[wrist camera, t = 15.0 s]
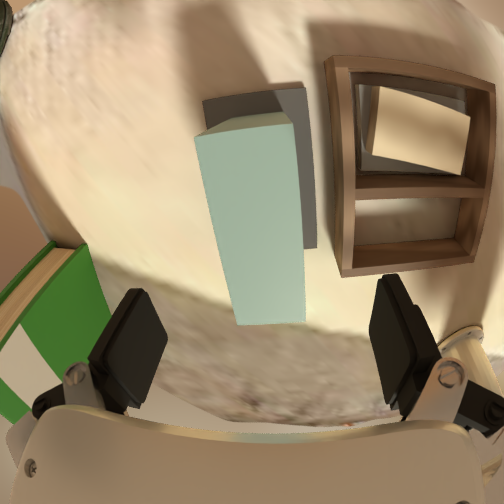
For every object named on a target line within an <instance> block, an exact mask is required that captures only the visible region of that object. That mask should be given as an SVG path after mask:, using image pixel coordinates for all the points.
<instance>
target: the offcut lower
mask: <svg viewBox="0 0 504 504" xmlns="http://www.w3.org/2000/svg"><path fill="white" fill-rule="evenodd" d="M372 86H374V85H362V84H357V85H355V98H356V116H357V167H358V168H359V169H360V170H361V171H409V172H430V173H445V174H454V173H450V172H447V171H443V170H439V169H436V168H432V167H428V166H423V165H419V164H415V163H410V162H406V161H401V160H396V159H391V158H386V157H381V156H375V155H372V154H370V153H369V152H367V151H366V150H365V147H366V140H367V132H368V123H369V114H370V103H371V91H372ZM381 87H384V86H381ZM385 88H389V89H393V90H397V91H400V92H404V93H407V94H410V95H413V96H417V97H420V98H423V99H426V100H429V101H431V102H434V103H437V104H440V105H442V106H445V107H448V108H450V109H453V110H455V111H457V112H460V113H462V114H464V115H465V101H462V100H458V99H454V98H450V97H445V96H441V95H436V94H431V93H426V92H420V91H414V90H408V89H401V88H393V87H385ZM460 175H461V174H460Z"/></svg>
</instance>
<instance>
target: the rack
mask: <svg viewBox="0 0 504 504" xmlns="http://www.w3.org/2000/svg"><path fill="white" fill-rule="evenodd" d="M324 65H325V73H326V80H327V89H328V97H329V107H330V118H331V130H332V144H333V161H334V188H335V253H334V256H335V259H336V262H337V265H338V268H339V272H340V275H341V278H345V277H355V276H366V275H375V274H385V273H394V272H403V271H411V270H420V269H428V268H436V267H443V266H451V265H458V264H465V263H472V262H474V259H475V256H476V253H477V249H478V246H479V242H480V238H481V234H482V230H483V226H484V222H485V218H486V213H487V208H488V203H489V197H490V191H491V185H492V177H493V169H494V159H495V147H496V91H495V84H492V83H490V82H487V81H484V80H481V79H478V78H475V77H472V76H469V75H465V74H462V73H458V72H454V71H451V70H447V69H442V68H438V67H434V66H429V65H424V64H419V63H413V62H407V61H400V60H393V59H385V58H375V57H363V56H343V55H333V56H332V57H330V58H329V59H327V60H326V61H324ZM349 72H360V73H376V74H387V75H396V76H404V77H411V78H418V79H424V80H430V81H435V82H440V83H445V84H449V85H454V86H458V87H462V88H466V89H467V113H468V116H469V117H470V125H469V132H468V138H467V154H466V166H465V176H461V175H437V174H365V175H355V144H354V125H353V111H352V99H351V89H350V80H349ZM397 198H462V199H461V205H460V211H459V217H458V222H457V227H456V231H455V236H454V238H447V239H435V240H423V241H411V242H399V243H387V244H375V245H362V246H353V245H354V226H355V200H371V199H397Z"/></svg>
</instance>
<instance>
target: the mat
mask: <svg viewBox="0 0 504 504" xmlns="http://www.w3.org/2000/svg"><path fill="white" fill-rule="evenodd" d="M202 102H203V108H204V113H205V119H206V125H207V130H208V129H210V128H212V127H214V126H216V125H218V124H220V123H222V122H224V121H226V120H228V119H230V118H234V117H241V116H248V115H256V114H264V113H273V112H284V113H285V114H286V115H287V117H288V118H289V119H290V120H291V122H292V123H293V128H294V136H295V146H296V155H297V166H298V177H299V189H300V201H301V216H302V231H303V249H312V248H317V222H316V198H315V180H314V165H313V152H312V140H311V129H310V119H309V110H308V101H307V93H306V88H294V89H281V90H271V91H261V92H253V93H246V94H239V95H233V96H227V97H221V98H215V99H210V100H205V101H202Z"/></svg>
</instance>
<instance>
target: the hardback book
mask: <svg viewBox="0 0 504 504" xmlns="http://www.w3.org/2000/svg"><path fill="white" fill-rule="evenodd" d="M111 317H112V316H111V313H110V311H109V308H108V305H107V303H106V300H105V297H104V295H103V292H102V289H101V286H100V283H99V280H98V278H97V275H96V271H95V268H94V265H93V262H92V259H91V255H90V252H89V249H88V245H87V244H83V243H82V244H81V245H80V246H79V247H78V248H77V249H76V250H72V249H63V248H57V245H56V242H55V241H50V242H49V243H48V244H47V245H46V246H45V247H44V248H43V249H42V250H41V251H40V252H39V253H38V254H37V255H36V256H35V257H34V258H33V259H32V260H31V261H30V262H29V263H28V264H27V265H26V266H25V267H24V268H23V269H22V270H21V271H20V272H19V273H18V274H17V275H16V276H15V277H14V278H13V280H11V282H10V283H9V284H8V285H7V286H6V287H5V288H4V289H3V291H2V292H1V293H0V414H1V415H3V416H4V417H5V418H6V419H7V420H9V421H10V422H11V423H12V424H15V423H16V422H17V421H19V420H20V419H21V418H22V417H23V416H24V415H25V414H26V413H27V412H28V411H29V410H30V411H31V412H32V405H33V402H34V400H35V399H36V398H37V397H38V396H39V395H40V394H42V393H44V392H46V391H48V390H50V389H52V388H54V387H56V386H57V385H59V384H61V383H63V374H64V372H65V370H66V369H67V368H68V367H69V366H70V365H71V364H73V363H75V362H78V361H82V362H85V363H86V364H89V360H88V359H87V358H88V356H89V354H90V352H91V351H92V349H93V347H94V345H95V344H96V342H97V340H98V338H99V337H100V335H101V333H102V332H103V330H104V328H105V327H106V325H107V323H108V322H109V320H110V318H111Z"/></svg>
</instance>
